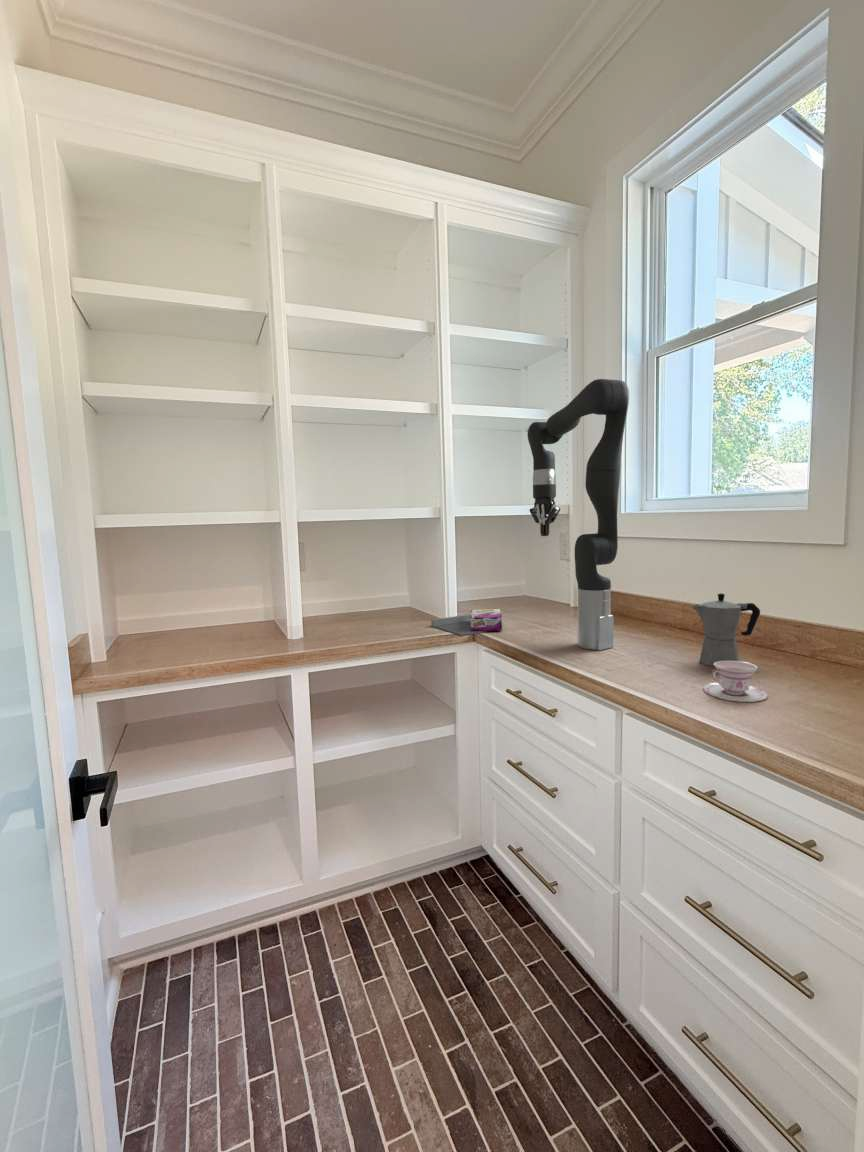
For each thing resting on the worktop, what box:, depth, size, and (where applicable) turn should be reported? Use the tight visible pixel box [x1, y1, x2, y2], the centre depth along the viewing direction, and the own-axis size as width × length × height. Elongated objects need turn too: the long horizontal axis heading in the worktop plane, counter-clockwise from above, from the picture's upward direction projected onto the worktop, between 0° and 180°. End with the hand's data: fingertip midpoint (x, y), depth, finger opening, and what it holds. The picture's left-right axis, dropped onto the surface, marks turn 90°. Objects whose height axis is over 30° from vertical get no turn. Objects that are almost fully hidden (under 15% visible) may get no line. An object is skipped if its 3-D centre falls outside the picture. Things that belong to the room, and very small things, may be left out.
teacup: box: [702, 660, 769, 703], centre depth 113 cm, size 12×12×6 cm
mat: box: [430, 614, 487, 637], centre depth 188 cm, size 20×16×2 cm
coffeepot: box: [691, 593, 761, 668], centre depth 134 cm, size 15×9×18 cm, turn 74°
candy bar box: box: [469, 608, 503, 632], centre depth 188 cm, size 11×5×16 cm
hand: (544, 535), depth 178 cm, fingers closed
